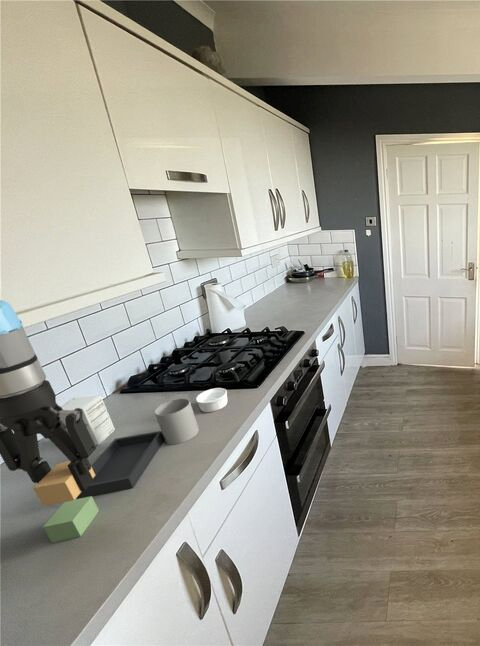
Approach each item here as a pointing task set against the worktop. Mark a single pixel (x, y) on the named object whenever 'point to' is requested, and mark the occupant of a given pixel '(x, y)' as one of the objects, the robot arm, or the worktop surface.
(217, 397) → the ramekin
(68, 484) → the light orange rectangular block
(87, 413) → the white packaging box
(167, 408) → the cup
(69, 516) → the pad
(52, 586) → the worktop surface
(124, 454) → the tray
